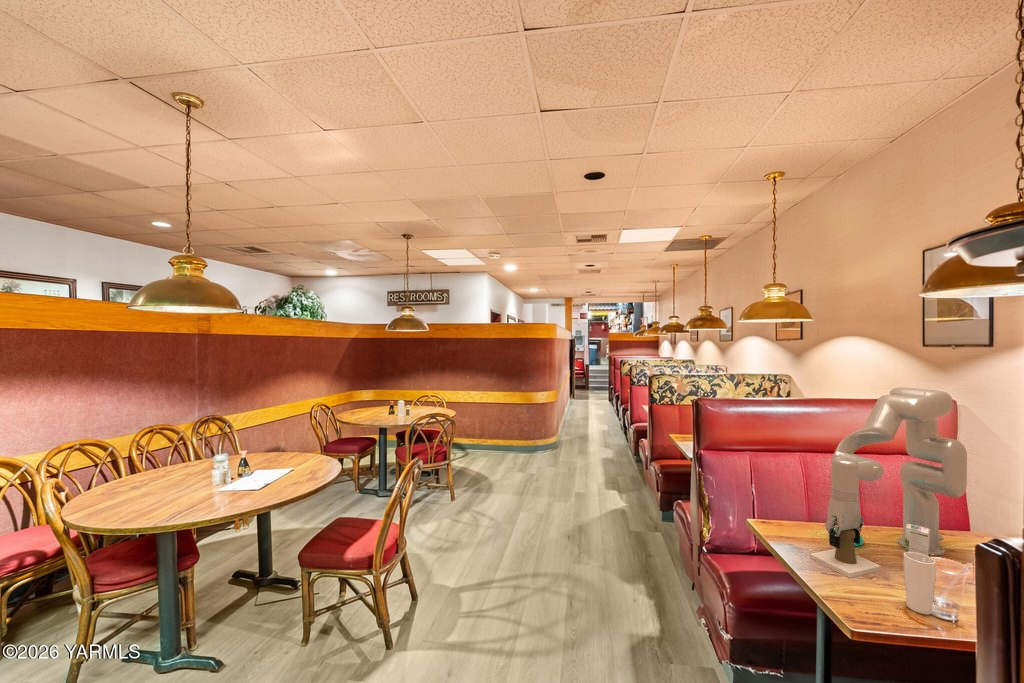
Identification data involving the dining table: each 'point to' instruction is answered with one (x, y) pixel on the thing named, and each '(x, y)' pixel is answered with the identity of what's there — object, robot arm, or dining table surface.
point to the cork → (846, 547)
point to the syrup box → (917, 539)
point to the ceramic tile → (848, 570)
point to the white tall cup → (919, 581)
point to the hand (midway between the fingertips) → (844, 544)
